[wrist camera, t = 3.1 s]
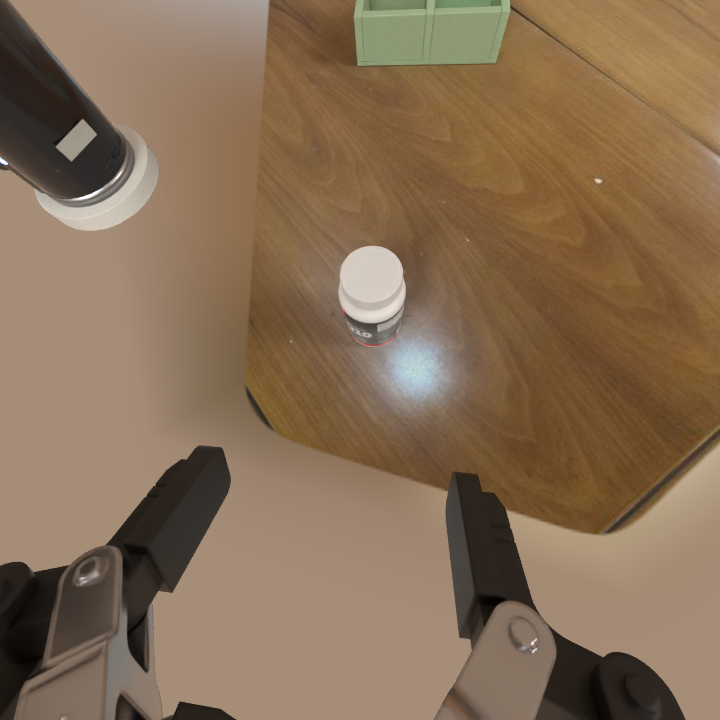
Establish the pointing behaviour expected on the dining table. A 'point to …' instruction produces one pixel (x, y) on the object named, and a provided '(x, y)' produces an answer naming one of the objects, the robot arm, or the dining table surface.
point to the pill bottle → (372, 295)
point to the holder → (429, 31)
